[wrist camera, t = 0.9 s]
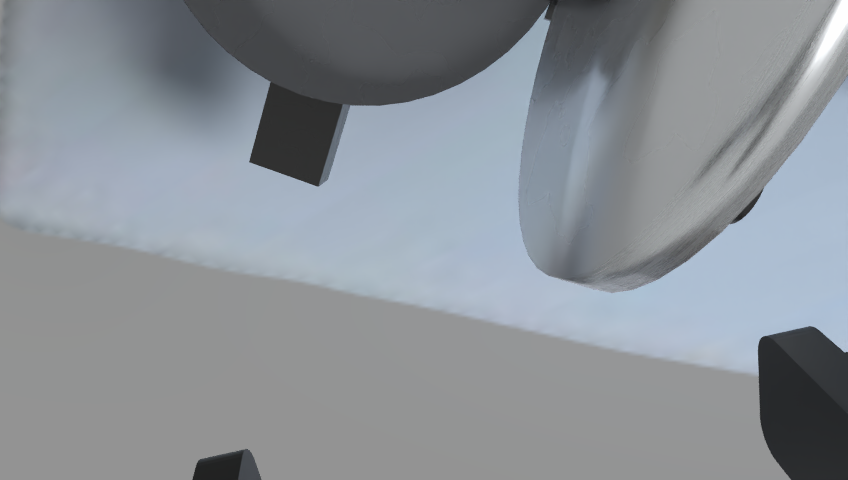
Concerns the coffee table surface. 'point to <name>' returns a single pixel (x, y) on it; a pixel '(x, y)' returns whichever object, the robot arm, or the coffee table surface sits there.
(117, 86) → the coffee table surface
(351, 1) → the cooker pot
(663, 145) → the cooker lid
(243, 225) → the coffee table surface
